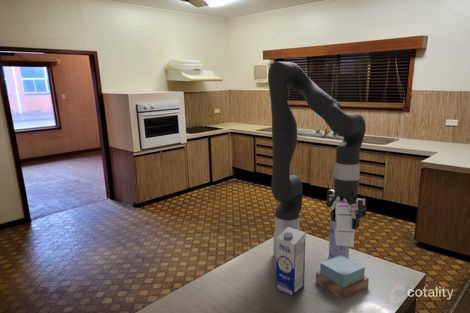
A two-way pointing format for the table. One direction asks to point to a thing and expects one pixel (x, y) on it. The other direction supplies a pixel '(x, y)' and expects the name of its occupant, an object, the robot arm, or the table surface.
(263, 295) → the table surface
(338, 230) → the syrup box
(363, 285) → the walnut slab
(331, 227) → the aerosol can
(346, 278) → the teal block
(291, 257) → the milk carton
